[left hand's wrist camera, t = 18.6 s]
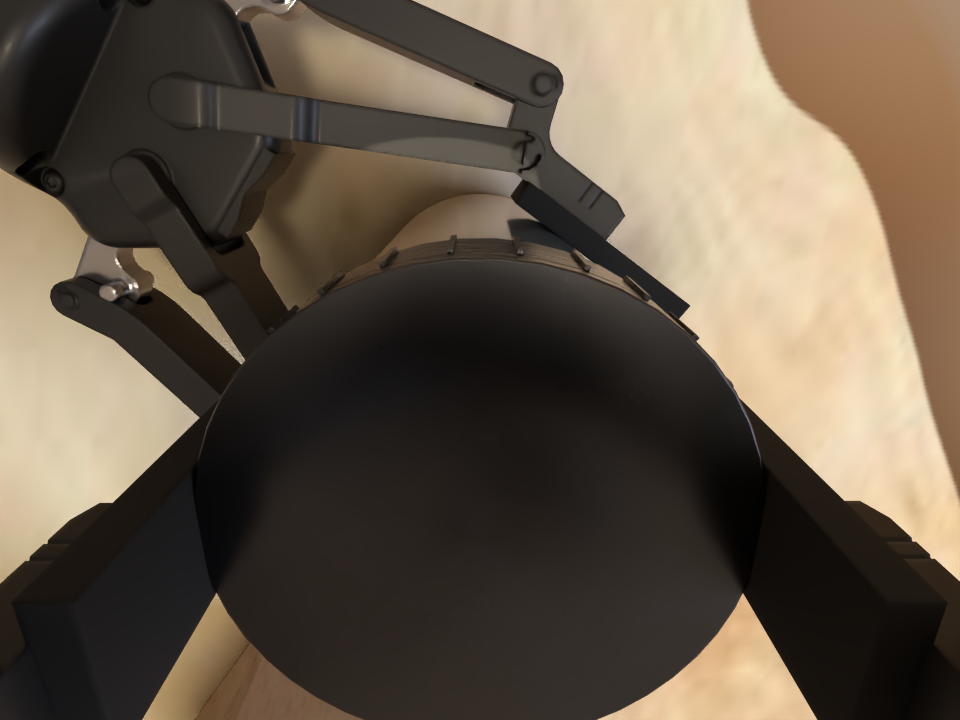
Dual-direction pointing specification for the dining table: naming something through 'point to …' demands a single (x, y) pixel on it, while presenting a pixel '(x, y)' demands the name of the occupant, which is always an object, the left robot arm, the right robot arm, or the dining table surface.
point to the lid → (479, 489)
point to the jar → (475, 223)
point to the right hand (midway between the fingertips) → (577, 411)
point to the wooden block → (264, 695)
